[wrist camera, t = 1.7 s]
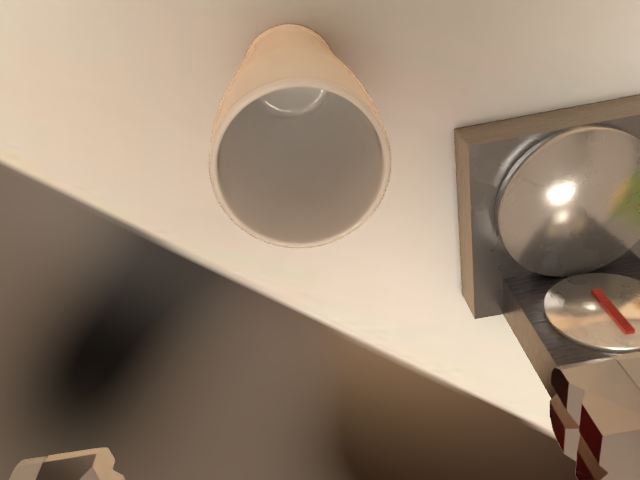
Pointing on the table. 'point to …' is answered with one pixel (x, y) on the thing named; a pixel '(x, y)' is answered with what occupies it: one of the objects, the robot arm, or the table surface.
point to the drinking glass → (297, 143)
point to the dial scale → (555, 229)
